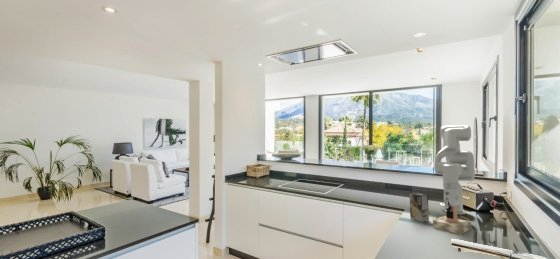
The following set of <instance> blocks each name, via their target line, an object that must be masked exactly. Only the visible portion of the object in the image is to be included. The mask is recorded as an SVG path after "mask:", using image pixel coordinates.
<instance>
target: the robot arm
mask: <svg viewBox="0 0 560 259" xmlns="http://www.w3.org/2000/svg"><path fill="white" fill-rule="evenodd" d="M439 131H440V136H441V138H442V140H443V144H442V146H443V147H442V148H441V149H440V150H439V151H438V152H437V153H436V155H435V156H434V169H433V170H434V172H435V173H436V175H442V187H443V203H442V202H441V203H440V204H439V206H440V207H442V208H443V211H444V212H445V214H446V213H447V218H451V219H453V212H452V207H454V206H457V215H465V214H466V213H467V212H466V210H464V205H463V187H462V185H461V184H460V183H459V181H460V182H461V181H462V182H463V181H464V182H473V181H475V176H476V174H475V157H474V154H473V152H471V151H469V150H461V144H460V142H468V141H471V138H472V129H471V126H470V125H466V124H464V125H463V124H461V125H460V124H459V125H457V124H456V125H452V124H451V125H444V126H441V127H440V130H439ZM444 158H445V161H444V162H443V161H441V160H442V159H444ZM449 205H450V206H449Z"/></svg>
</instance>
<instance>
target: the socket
mask: <svg viewBox="0 0 560 259" xmlns="http://www.w3.org/2000/svg"><path fill="white" fill-rule="evenodd" d="M432 223H433V225H432V226H433V228H435V229H439V230H443V231H446V232H450V233H453V234H457V235H463V234H464V233H466V232H468V231H470V230H472V221H469V220H464V219H460V218H457V222H456V223H452V222H448V221H447V218H446V215H442V216H440V217H437V218H435V219H433V220H432Z"/></svg>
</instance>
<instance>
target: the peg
mask: <svg viewBox="0 0 560 259" xmlns="http://www.w3.org/2000/svg"><path fill="white" fill-rule="evenodd" d="M449 206H450V205H449ZM452 212H453V219H451V218H447V213H446V212H445V214H446V215H445V216H446V218H447V221H448V222H452V223H456V222H457V219H458V214H457V206H454V207H452Z"/></svg>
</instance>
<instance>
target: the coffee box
mask: <svg viewBox="0 0 560 259" xmlns="http://www.w3.org/2000/svg"><path fill="white" fill-rule="evenodd" d="M429 210H430V209H429V195H428V194H424V193H419V192H410V193H409V215H410V217H411V218H410V219H412V218H413V220H415V219H416V220H415V221H418V220H419V221H418V222H421V223H424V221H426V222H429V221H430V213H429V212H430V211H429Z"/></svg>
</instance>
